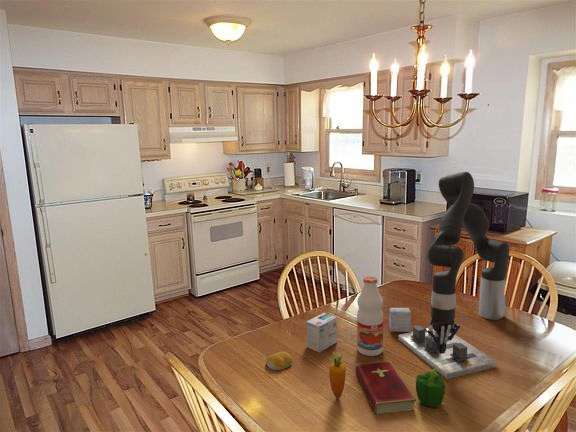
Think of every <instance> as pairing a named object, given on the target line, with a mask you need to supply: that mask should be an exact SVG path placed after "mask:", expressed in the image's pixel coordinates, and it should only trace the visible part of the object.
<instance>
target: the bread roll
mask: <svg viewBox="0 0 576 432" xmlns="http://www.w3.org/2000/svg"><path fill="white" fill-rule="evenodd" d="M292 364H293V358H292V356H291V355H290V354H289V353H288V352H286V351H278V352H275V353H274V354H270V355H268V356H267V358H266V365H267V367H268V368H269V369H270V370H273V371H281V370H284V369H287V368H290V367H291V366H292Z"/></svg>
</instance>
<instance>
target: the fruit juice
mask: <svg viewBox="0 0 576 432" xmlns="http://www.w3.org/2000/svg"><path fill="white" fill-rule="evenodd" d="M362 281H363V286H362V289H361V292H360V294H359V295H358V297H357V307H358V310H357V313H356V348H357V351H358V353H360V354H362V355H364V356H367V357H375V356H379V355H381V354H382V352H383V350H384V312H383V309H382V308H383V306H384V298H383V297H382V296H381V293H380V291H379V287H378V286H377V284H378V278H377V277H376V276H372V275H371V276H369V275H368V276H364V277H363V279H362Z"/></svg>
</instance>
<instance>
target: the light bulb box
mask: <svg viewBox="0 0 576 432" xmlns="http://www.w3.org/2000/svg"><path fill="white" fill-rule="evenodd" d="M305 323H306V347H307V348H308V349H311V350H312V351H315V352H316V353H321V352H323V351H325V350H326V349H328V348H330V347H331V346H333V345H335V344H336V343H337V342H338V333H337V332H338V325H337V316H335V315H332V314H329V313H327V312H322V313H321V314H318V315H316V316H315V317H312V318H311V319H310V318H309V319H308V320H306V321H305Z"/></svg>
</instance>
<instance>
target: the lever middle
mask: <svg viewBox="0 0 576 432" xmlns="http://www.w3.org/2000/svg"><path fill="white" fill-rule="evenodd" d="M424 348H426V349H427V350H428V351H430V352H435V351H437V350H436V343H435V342H434V341H432V340H431V339H430V337H429V336H426V345H424Z"/></svg>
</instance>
